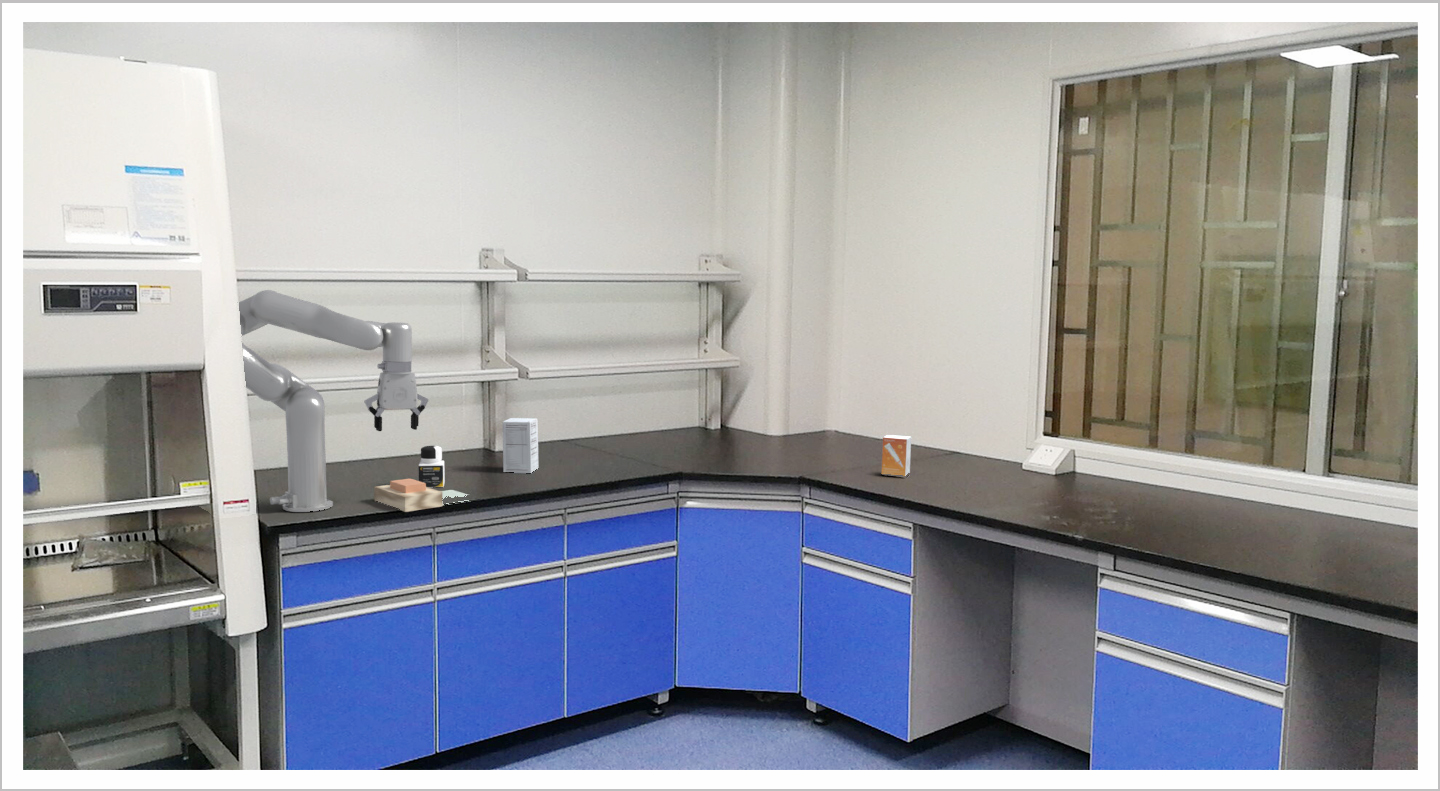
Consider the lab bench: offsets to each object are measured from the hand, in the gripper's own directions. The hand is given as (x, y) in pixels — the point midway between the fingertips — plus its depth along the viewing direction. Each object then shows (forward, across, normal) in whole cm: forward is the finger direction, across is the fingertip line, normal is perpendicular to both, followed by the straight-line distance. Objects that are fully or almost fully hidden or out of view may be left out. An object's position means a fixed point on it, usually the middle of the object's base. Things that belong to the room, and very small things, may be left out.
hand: (396, 429), depth 293 cm
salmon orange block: (+16, +2, -2) cm, 17 cm away
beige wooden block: (+20, +3, -2) cm, 21 cm away
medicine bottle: (+20, +17, +18) cm, 32 cm away
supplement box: (+20, +50, +27) cm, 60 cm away
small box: (+17, +151, -40) cm, 157 cm away
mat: (+20, +14, -1) cm, 25 cm away
